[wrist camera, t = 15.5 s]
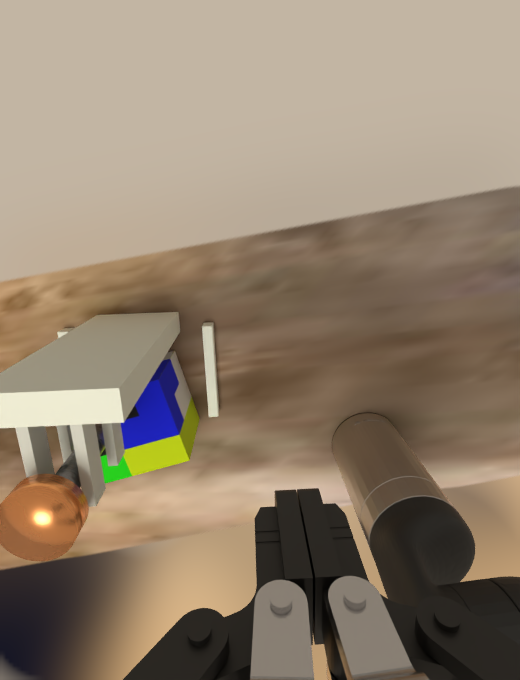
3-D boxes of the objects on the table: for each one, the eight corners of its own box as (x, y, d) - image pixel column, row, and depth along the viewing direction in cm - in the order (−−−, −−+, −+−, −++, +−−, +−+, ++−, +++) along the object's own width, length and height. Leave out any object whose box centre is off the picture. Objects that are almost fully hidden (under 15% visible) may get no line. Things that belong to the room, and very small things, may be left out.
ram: (144, 432, 40) (82, 559, 25) (94, 434, 40) (1, 563, 25) (138, 387, 39) (69, 491, 24) (87, 389, 39) (-17, 495, 24)
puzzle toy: (174, 350, 50) (158, 379, 41) (199, 418, 53) (189, 460, 44) (100, 371, 51) (67, 405, 41) (129, 437, 54) (103, 483, 44)
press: (219, 409, 53) (198, 551, 30) (80, 415, 52) (-51, 565, 29) (212, 310, 49) (183, 385, 26) (62, 316, 49) (-103, 397, 26)
